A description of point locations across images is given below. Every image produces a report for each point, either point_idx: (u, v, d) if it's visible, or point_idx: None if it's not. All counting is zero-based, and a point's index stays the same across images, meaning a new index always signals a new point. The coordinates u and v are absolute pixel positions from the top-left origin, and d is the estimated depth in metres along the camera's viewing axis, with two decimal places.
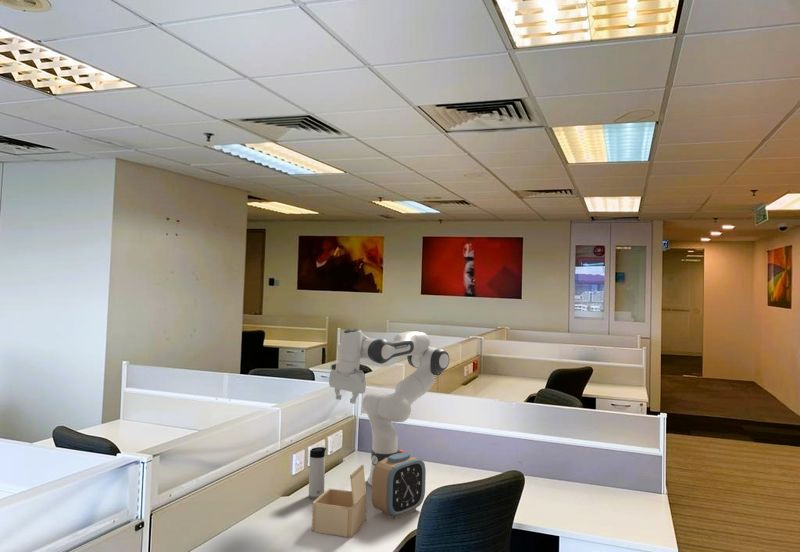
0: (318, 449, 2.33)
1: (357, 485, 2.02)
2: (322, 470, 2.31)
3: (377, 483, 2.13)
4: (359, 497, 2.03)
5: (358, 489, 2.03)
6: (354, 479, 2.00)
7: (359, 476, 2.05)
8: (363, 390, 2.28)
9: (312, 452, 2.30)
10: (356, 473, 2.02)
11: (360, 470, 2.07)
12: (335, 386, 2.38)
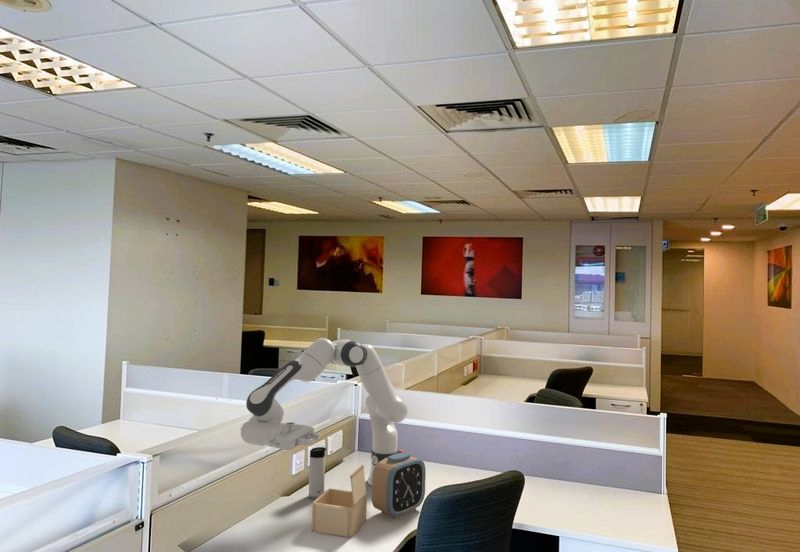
0: (318, 449, 2.33)
1: (357, 485, 2.02)
2: (322, 470, 2.31)
3: (377, 483, 2.13)
4: (359, 497, 2.03)
5: (358, 489, 2.03)
6: (354, 479, 2.00)
7: (359, 476, 2.05)
8: (287, 443, 2.01)
9: (312, 452, 2.30)
10: (356, 473, 2.02)
11: (360, 470, 2.07)
12: None
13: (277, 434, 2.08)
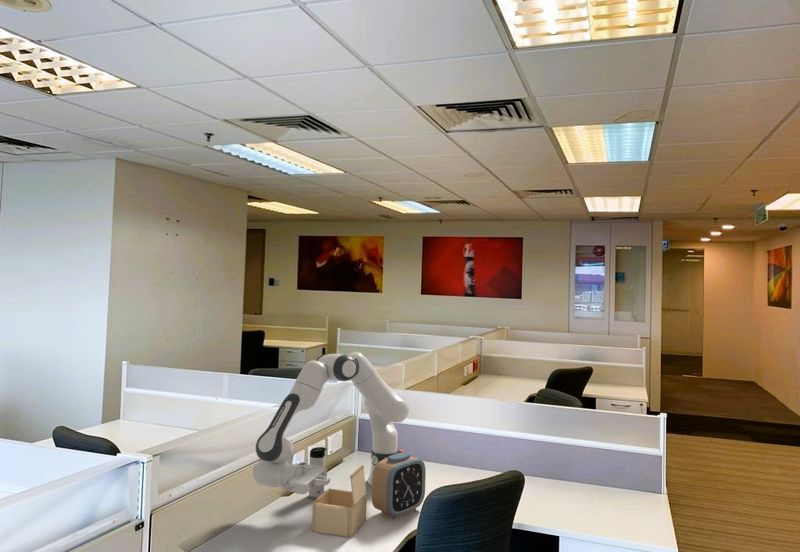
0: (318, 449, 2.33)
1: (357, 485, 2.02)
2: None
3: (377, 483, 2.13)
4: (359, 497, 2.03)
5: (358, 489, 2.03)
6: (354, 479, 2.00)
7: (359, 476, 2.05)
8: (301, 487, 1.99)
9: (312, 452, 2.30)
10: (356, 473, 2.02)
11: (360, 470, 2.07)
12: None
13: (290, 476, 2.07)
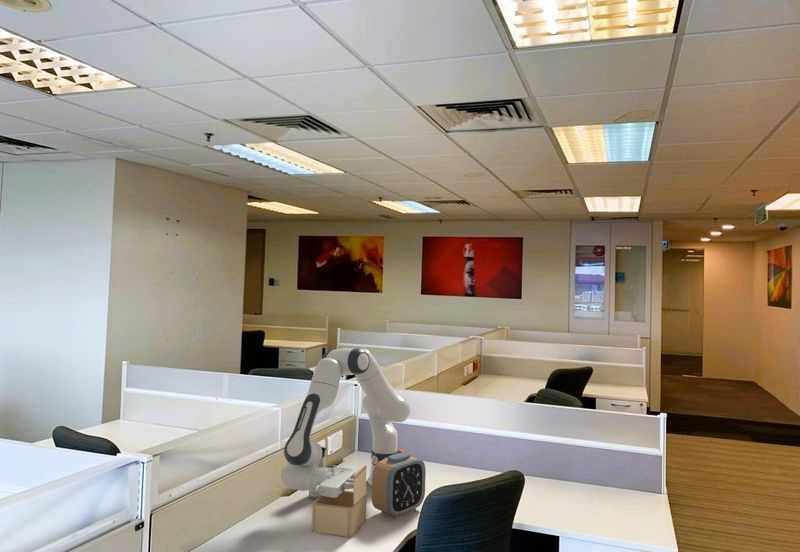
0: None
1: (359, 485, 2.02)
2: None
3: (377, 483, 2.13)
4: (359, 497, 2.03)
5: (359, 489, 2.02)
6: (356, 479, 2.00)
7: (361, 476, 2.05)
8: (332, 491, 1.96)
9: None
10: (359, 473, 2.02)
11: (363, 470, 2.06)
12: None
13: (320, 480, 2.04)
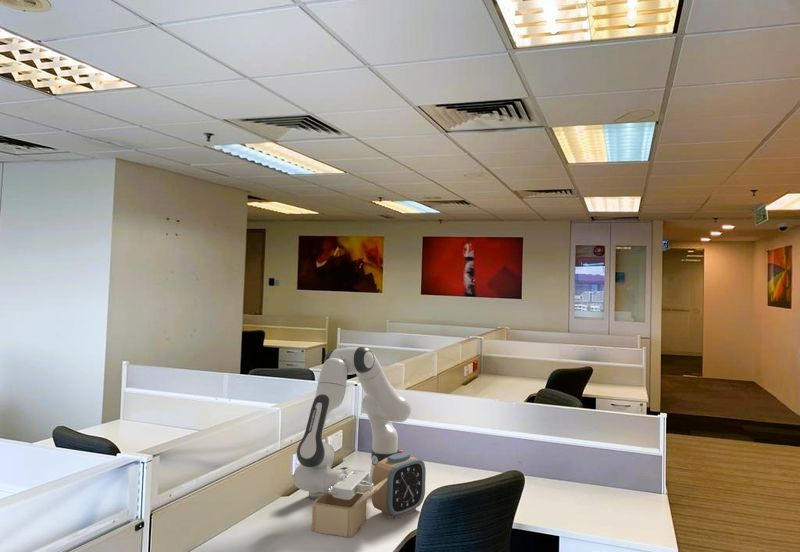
0: None
1: None
2: None
3: (377, 483, 2.13)
4: None
5: None
6: (374, 491, 1.98)
7: (377, 487, 2.03)
8: (346, 493, 1.94)
9: None
10: (379, 487, 2.00)
11: (382, 483, 2.04)
12: None
13: (333, 482, 2.02)
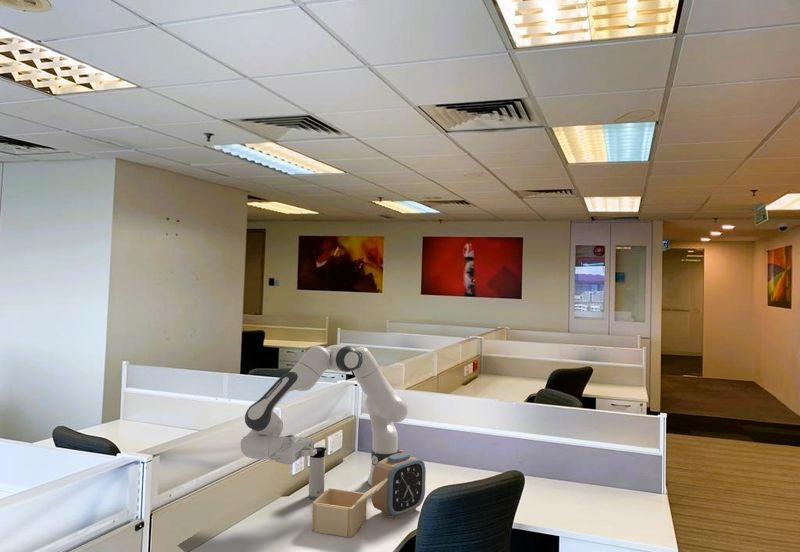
0: (318, 449, 2.33)
1: None
2: (322, 470, 2.31)
3: (377, 483, 2.13)
4: None
5: None
6: None
7: None
8: (287, 458, 2.01)
9: None
10: (379, 487, 2.00)
11: None
12: None
13: (277, 448, 2.08)
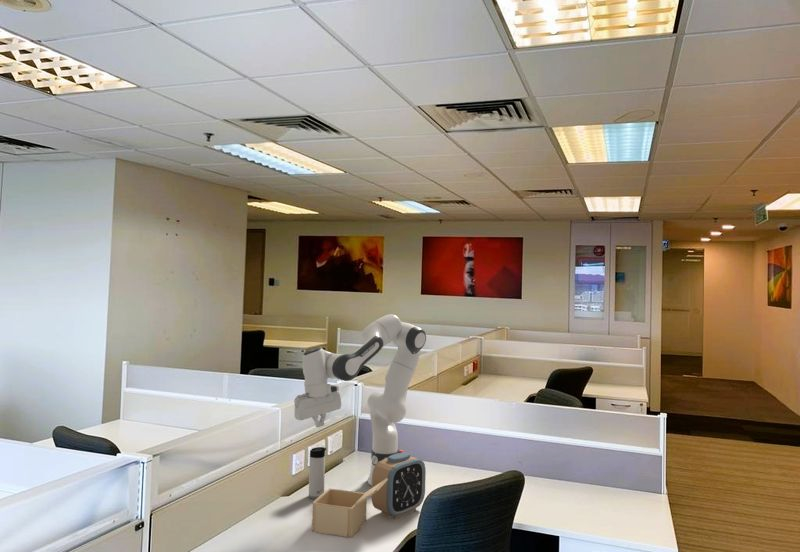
0: (318, 449, 2.33)
1: None
2: (322, 470, 2.31)
3: (377, 483, 2.13)
4: None
5: None
6: None
7: None
8: (297, 417, 2.11)
9: (312, 452, 2.30)
10: (379, 487, 2.00)
11: None
12: None
13: (310, 394, 2.15)
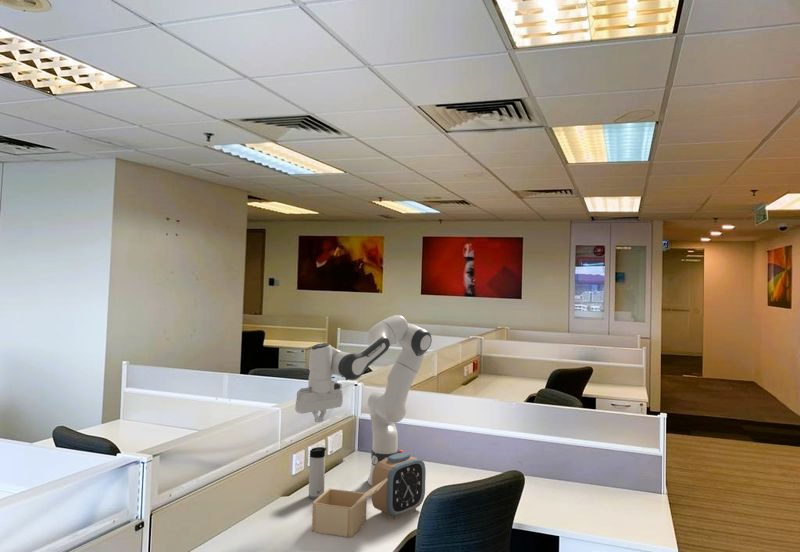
0: (318, 449, 2.33)
1: None
2: (322, 470, 2.31)
3: (377, 483, 2.13)
4: None
5: None
6: None
7: None
8: (298, 410, 2.12)
9: (312, 452, 2.30)
10: (379, 487, 2.00)
11: None
12: None
13: (313, 389, 2.16)
